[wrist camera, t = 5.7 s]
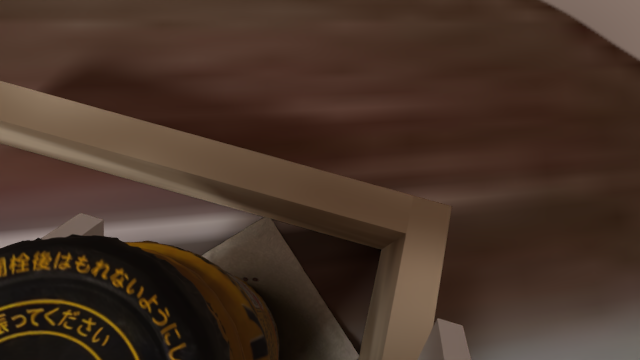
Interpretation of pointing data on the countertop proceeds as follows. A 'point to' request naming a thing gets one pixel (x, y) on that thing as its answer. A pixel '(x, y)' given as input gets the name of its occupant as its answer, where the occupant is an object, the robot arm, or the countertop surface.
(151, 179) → the open wooden frame
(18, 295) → the condiment
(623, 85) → the countertop surface
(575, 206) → the countertop surface
